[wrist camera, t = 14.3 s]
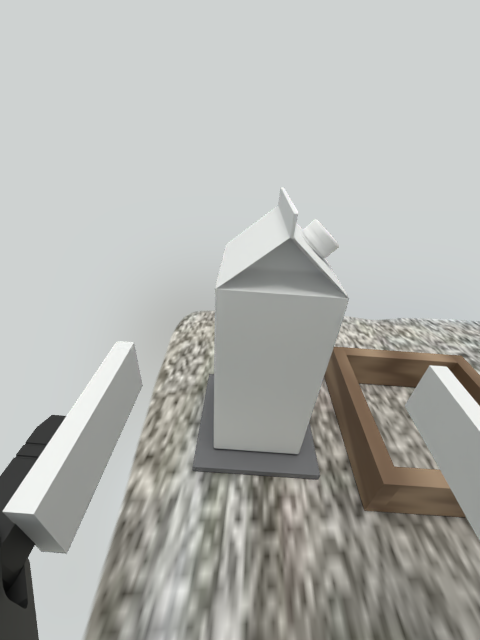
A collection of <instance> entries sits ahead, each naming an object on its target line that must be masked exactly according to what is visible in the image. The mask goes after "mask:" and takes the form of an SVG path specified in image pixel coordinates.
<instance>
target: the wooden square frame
mask: <svg viewBox="0 0 480 640" xmlns="http://www.w3.org/2000/svg"><path fill="white" fill-rule="evenodd" d="M429 365H432V366H445V367H448V369H449V370H450V371H451V372H452V373H453V375H454V376H455V377H456V378H457V379H458V381H459V382H460V383H461V384H462V385H463V387H464V388H465V389H466V390H467V392H468V393H469V394H470V395H471V396H472V398H473V399H474V400H475V401H476V402H477V404H478V405H479V406H480V375H479V374H478V373H477V372H476V371H475V370H474V369H473V368H472V366H471V365H470V364H469V363H468V362H467V361H466V360H465V359H464V358H463V357H462V356H457V355H443V354H429V353H415V352H401V351H387V350H373V349H359V348H345V347H334V348H333V351H332V354H331V357H330V360H329V363H328V366H327V369H326V372H325V375H324V377H325V380H326V383H327V387H328V390H329V393H330V397H331V400H332V404H333V407H334V410H335V414H336V417H337V420H338V424H339V427H340V430H341V434H342V437H343V440H344V444H345V447H346V450H347V454H348V457H349V460H350V464H351V467H352V471H353V474H354V477H355V481H356V484H357V487H358V491H359V494H360V497H361V501H362V504H363V507H364V510H365V511H379V512H394V513H408V514H423V515H437V516H452V517H466V516H465V514H464V512H463V510H462V508H461V507H460V505H459V503H458V501H457V499H456V498H455V496H454V494H453V492H452V490H451V489H450V487H449V485H448V483H447V481H446V480H445V478H444V476H443V474H442V472H441V471H440V470H434V469H420V468H405V467H394V465H393V463H392V460H391V458H390V456H389V453H388V451H387V449H386V446H385V444H384V442H383V439H382V437H381V435H380V432H379V430H378V428H377V425H376V423H375V421H374V418H373V416H372V414H371V411H370V409H369V407H368V404H367V402H366V400H365V397H364V395H363V393H362V390H361V388H360V386H359V383H362V384H377V385H391V386H405V387H416V386H417V385H418V383H419V382H420V380H421V378H422V377H423V375H424V373H425V372H426V370H427V369H428V367H429Z"/></svg>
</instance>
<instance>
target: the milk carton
mask: <svg viewBox="0 0 480 640" xmlns="http://www.w3.org/2000/svg"><path fill="white" fill-rule="evenodd" d="M297 216H298V211H297V209H296V208H295V206H294V204H293V202H292V201H291V199H290V197H289V196H288V194H287V192H286V190H285V189H284V188H280V197H279V204H278V206H276V207H275V208H274V209H272V210H271V211H270V212H269V213H267V214H266V215H264V216H263V217H262V218H260V219H259V220H258V221H256V222H255V223H254V224H252V225H251V226H250V227H249V228H247V229H246V230H244V231H243V232H242V233H240V234H239V235H238V236H237V237H235V238H234V239H233V240H231V241H230V242H229V243H227V244H226V247H225V251H224V254H223V258H222V262H221V266H220V270H219V274H218V278H217V282H216V286H215V356H214V448H219V449H233V450H246V451H260V452H274V453H288V454H299V452H300V448H301V445H302V442H303V439H304V436H305V433H306V430H307V427H308V424H309V421H310V418H311V415H312V412H313V409H314V406H315V403H316V400H317V397H318V394H319V391H320V388H321V384H322V381H323V378H324V375H325V372H326V369H327V366H328V363H329V360H330V357H331V354H332V351H333V348H334V345H335V342H336V339H337V336H338V333H339V330H340V327H341V323H342V320H343V317H344V314H345V311H346V308H347V304H348V300H349V298H348V296H347V294H346V292H345V290H344V288H343V287H342V285H341V283H340V282H339V280H338V278H337V277H336V275H335V273H334V271H333V270H332V268H331V266H330V265H329V263H328V262H327V260H326V257H327V256H329V255H330V254H331V253H332V252H333V251H335V250H336V249H337V248H338V247H339V245H338V243H337V242H336V241H335V239H334V238H333V237H332V236H331V234H330V233H329V232H328V231H327V230H326V229H325V228H324V226H323V225H322V224H321V223H320V222H319V221H318V220H317V219H314V220H313V221H312V222H311V223H310V224H309V225H308V226H307V227H305V228H304V229H302V228H301V227H300V226H299V225H298V223H297Z"/></svg>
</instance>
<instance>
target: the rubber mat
mask: <svg viewBox="0 0 480 640" xmlns="http://www.w3.org/2000/svg"><path fill="white" fill-rule="evenodd" d="M193 471H206V472H220V473H235V474H249V475H264V476H278V477H292V478H307V479H319V477H320V473H319V468H318V463H317V458H316V453H315V448H314V443H313V438H312V433H311V428H310V422H309V424H308V427H307V430H306V433H305V436H304V439H303V442H302V445H301V448H300V452H299V454H288V453H274V452H260V451H246V450H233V449H219V448H214V374H209V379H208V384H207V390H206V395H205V401H204V406H203V412H202V418H201V423H200V429H199V434H198V440H197V445H196V451H195V456H194V462H193Z"/></svg>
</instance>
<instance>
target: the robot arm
mask: <svg viewBox="0 0 480 640" xmlns="http://www.w3.org/2000/svg"><path fill="white" fill-rule="evenodd" d="M142 386H143V385H142V380H141V375H140V370H139V366H138V360H137V355H136V350H135V346H134V343H132V342H120V341H117V342H116V343H115V345H114V346H113V348H112V349H111V351H110V352H109V354H108V355H107V357H106V358H105V360H104V361H103V363H102V364H101V365H100V367H99V369H98V370H97V371H96V373H95V375H94V376H93V377H92V379H91V380H90V382H89V383H88V385H87V386H86V388H85V389H84V391H83V392H82V394H81V395H80V397H79V398H78V400H77V401H76V403H75V404H74V406H73V407H72V409H71V410H70V412H69V413H68V415H67V416H59V415H51V416H50V417H49V418H48V419H47V420H45V421H44V422H43V423H42V424H40V425H39V426H38V427H37V428H36V429H35V430H34V432H33V433H32V434H31V436H30V437H29V438H28V440H27V441H26V444H25V445H23V446H22V448H21V449H20V450H19V452H18V453H17V454H16V458H14V459H13V460H12V461H11V463H10V464H9V465H8V467H7V468H6V469H5V471H4V472H3V473H2V475H1V476H0V640H39V639H38V630H37V621H36V612H35V604H34V595H33V587H32V578H31V570H30V562H29V559H28V556H29V554H30V553H31V550H32V549H33V547H34V545H36V546H37V547H38V548H39V549H40V550H41V551H42V552H54V553H67V552H68V550H69V548H70V546H71V543H72V541H73V539H74V537H75V534H76V532H77V530H78V528H79V526H80V523H81V521H82V519H83V517H84V514H85V512H86V510H87V508H88V506H89V503H90V501H91V499H92V497H93V495H94V492H95V490H96V488H97V486H98V483H99V481H100V479H101V477H102V474H103V472H104V470H105V468H106V466H107V463H108V461H109V459H110V456H111V455H112V452H113V450H114V448H115V446H116V443H117V441H118V439H119V437H120V435H121V432H122V430H123V428H124V426H125V423H126V421H127V419H128V417H129V415H130V412H131V410H132V408H133V406H134V403H135V401H136V399H137V397H138V394H139V392H140V390H141V388H142ZM405 407H406V409H407V411H408V413H409V415H410V416H411V418H412V420H413V422H414V424H415V425H416V427H417V429H418V431H419V433H420V434H421V436H422V438H423V440H424V442H425V443H426V445H427V447H428V449H429V451H430V453H431V454H432V456H433V458H434V460H435V462H436V463H437V465H438V467H439V469H440V471H441V472H442V474H443V476H444V478H445V480H446V481H447V483H448V485H449V487H450V489H451V490H452V492H453V494H454V496H455V498H456V499H457V501H458V503H459V505H460V507H461V508H462V510H463V512H464V514H465V516H466V518H467V519H468V521H469V523H470V525H471V527H472V528H473V530H474V532H475V534H476V536H477V537H478V539H479V541H480V406H479V405H478V404H477V402H476V401H475V400H474V399H473V398H472V396H471V395H470V394H469V393H468V392H467V390H466V389H465V388H464V387H463V385H462V384H461V383H460V382H459V381H458V379H457V378H456V377H455V376H454V375H453V373H452V372H451V371H450V370H449V369H448V367H445V366H432V365H429V367H428V369H427V370H426V372H425V373H424V375H423V377H422V378H421V380H420V382H419V383H418V385H417V386H416V388H415V390H414V391H413V393H412V395H411V396H410V398H409V399H408V401H407V403H406V404H405Z"/></svg>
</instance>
